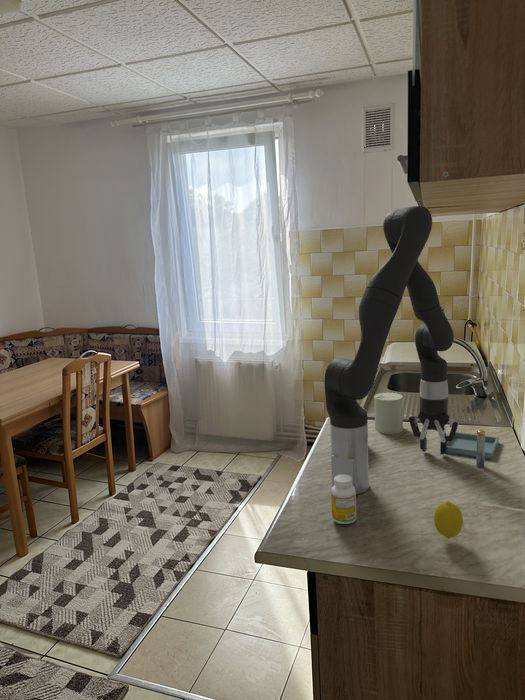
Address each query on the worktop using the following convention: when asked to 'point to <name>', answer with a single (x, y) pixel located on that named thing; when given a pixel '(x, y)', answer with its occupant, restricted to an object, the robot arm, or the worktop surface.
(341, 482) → the supplement bottle
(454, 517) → the lemon
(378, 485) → the worktop surface
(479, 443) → the orange-topped grey cylinder
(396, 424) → the can
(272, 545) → the worktop surface
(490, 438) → the tray
